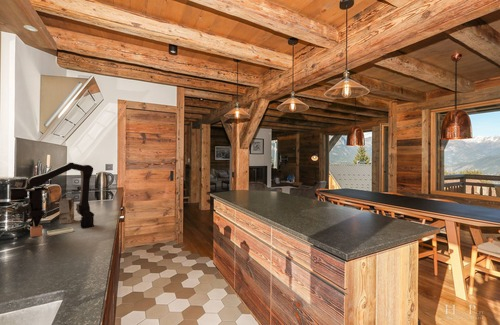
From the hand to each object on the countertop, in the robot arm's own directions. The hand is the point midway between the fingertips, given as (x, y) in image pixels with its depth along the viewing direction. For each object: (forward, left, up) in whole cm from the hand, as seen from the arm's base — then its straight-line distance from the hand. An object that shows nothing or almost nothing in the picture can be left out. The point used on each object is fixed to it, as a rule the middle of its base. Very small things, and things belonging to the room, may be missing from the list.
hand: (36, 226), depth 135 cm
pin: (0, 0, -5) cm, 5 cm away
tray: (-10, +3, -6) cm, 12 cm away
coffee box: (-16, -24, -6) cm, 29 cm away
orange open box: (0, 0, -6) cm, 6 cm away
